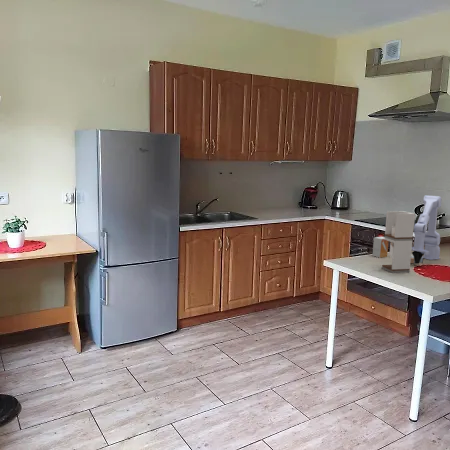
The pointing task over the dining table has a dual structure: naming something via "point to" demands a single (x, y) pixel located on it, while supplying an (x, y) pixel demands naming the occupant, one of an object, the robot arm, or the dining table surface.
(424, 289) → the dining table surface
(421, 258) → the pad
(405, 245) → the coffee grinder
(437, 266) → the dining table surface
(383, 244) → the small box
